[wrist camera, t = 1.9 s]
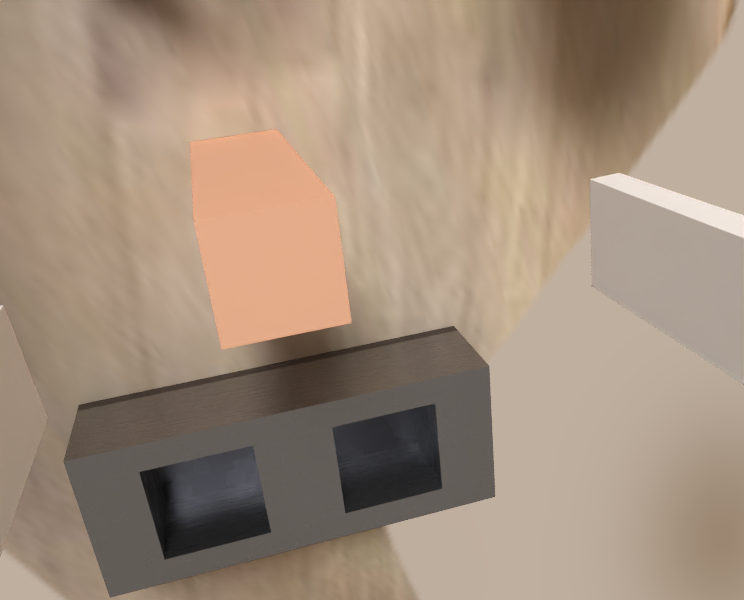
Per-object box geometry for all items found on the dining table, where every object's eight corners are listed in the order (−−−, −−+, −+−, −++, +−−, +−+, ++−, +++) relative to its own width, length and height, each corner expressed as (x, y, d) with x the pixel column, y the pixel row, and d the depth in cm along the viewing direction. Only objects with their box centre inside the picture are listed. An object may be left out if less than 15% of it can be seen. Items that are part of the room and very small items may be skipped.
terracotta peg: (207, 225, 33) (221, 349, 21) (190, 142, 32) (193, 221, 19) (289, 211, 34) (351, 323, 21) (276, 129, 32) (335, 197, 20)
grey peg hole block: (118, 529, 38) (110, 597, 34) (79, 405, 35) (63, 461, 30) (461, 445, 42) (495, 496, 37) (453, 326, 39) (489, 366, 34)
